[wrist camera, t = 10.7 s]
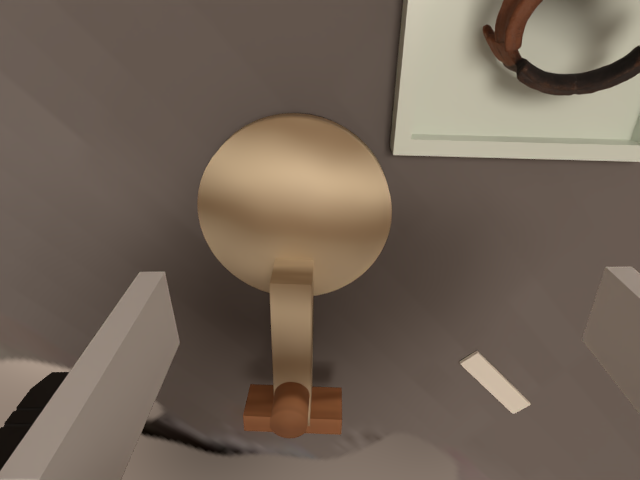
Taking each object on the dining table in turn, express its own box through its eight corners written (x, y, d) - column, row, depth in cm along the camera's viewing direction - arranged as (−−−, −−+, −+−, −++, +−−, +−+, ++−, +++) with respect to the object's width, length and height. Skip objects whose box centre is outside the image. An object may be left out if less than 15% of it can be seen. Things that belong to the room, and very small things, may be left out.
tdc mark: (459, 361, 38) (460, 364, 37) (477, 350, 37) (478, 352, 37) (512, 411, 40) (513, 414, 40) (529, 401, 39) (530, 404, 39)
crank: (194, 110, 26) (149, 141, 20) (398, 115, 26) (417, 149, 20) (224, 382, 36) (200, 460, 30) (371, 388, 36) (378, 467, 30)
